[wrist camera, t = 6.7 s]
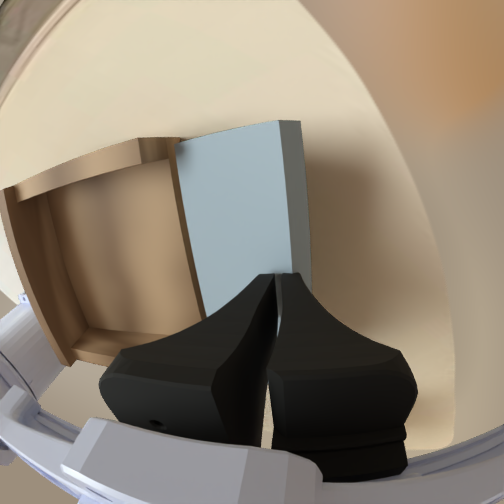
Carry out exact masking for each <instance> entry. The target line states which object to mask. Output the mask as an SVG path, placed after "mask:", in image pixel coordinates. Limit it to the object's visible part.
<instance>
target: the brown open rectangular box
mask: <svg viewBox="0 0 504 504" xmlns="http://www.w3.org/2000/svg"><path fill="white" fill-rule="evenodd" d="M179 142H180V137H150V138H135V139H132V140H128V141H125V142H122V143H119V144H115V145H112V146H109V147H106V148H103V149H100V150H97V151H94V152H91V153H89V154H86V155H83V156H80V157H78V158H75V159H72V160H70V161H67V162H65V163H62V164H60V165H57V166H55V167H53V168H50V169H48V170H46V171H43V172H41V173H39V174H37V175H35V176H32V177H30V178H28V179H26V180H24V181H22V182H20V183H18V184H16V185H14V186H11V187H8V188H5V189H3V190H1V191H0V213H1V218H2V222H3V226H4V230H5V234H6V237H7V241H8V244H9V248H10V251H11V254H12V257H13V260H14V263H15V266H16V269H17V272H18V275H19V277H20V280H21V283H22V285H23V288H24V290H25V293H26V295H27V298H28V300H29V302H30V305H31V307H32V309H33V311H34V313H35V316H36V318H37V320H38V322H39V324H40V326H41V328H42V330H43V332H44V334H45V336H46V338H47V340H48V342H49V343H50V345H51V347H52V349H53V351H54V352H55V354H56V356H57V358H58V359H59V361H60V363H61V364H62V365H65V366H69V367H71V366H72V365H73V363H74V362H75V361H76V360H81V361H85V362H89V363H93V364H98V365H102V366H107V367H109V365H110V364H111V363H112V361H113V360H114V359H115V357H116V356H117V355H118V353H119V352H120V350H121V349H125V348H129V347H133V346H137V345H141V344H145V343H149V342H153V341H156V340H159V339H162V338H164V337H167V336H170V335H172V334H175V333H177V332H180V331H182V330H184V329H186V328H188V327H190V326H192V325H194V324H196V323H198V322H200V321H202V320H203V319H205V318H207V315H206V311H205V307H204V303H203V298H202V294H201V290H200V285H199V281H198V276H197V271H196V267H195V262H194V257H193V252H192V247H191V242H190V237H189V232H188V227H187V221H186V216H185V210H184V205H183V199H182V193H181V187H180V181H179V175H178V168H177V161H176V155H175V148H174V144H176V143H179Z"/></svg>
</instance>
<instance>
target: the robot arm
mask: <svg viewBox="0 0 504 504" xmlns="http://www.w3.org/2000/svg"><path fill="white" fill-rule="evenodd" d="M281 290H282V303H283V309H282V315H281V322H280V326H279V331H278V306H277V295H276V283H275V273H270V274H259V275H257V276H256V277H255V278H254V279H253V280H252V281H251V282H250V283H249V284H248V285H247V286H246V287H245V288H244V289H243V290H242V291H241V292H240V293H239V294H238V295H236V296H235V297H234V298H233V299H232V300H230V301H229V302H228V303H227V304H225V305H224V306H223V307H222V308H220V309H219V310H217V311H216V312H215V313H213V314H211V315H210V316H208V317H207V318H205V319H203V320H202V321H200V322H198V323H196V324H194V325H192V326H190V327H188V328H186V329H184V330H182V331H180V332H177V333H175V334H172V335H170V336H167V337H164V338H162V339H159V340H156V341H153V342H149V343H145V344H141V345H137V346H133V347H129V348H125V349H121V350H120V352H119V353H118V355H117V356H116V357H115V359H114V360H113V361H112V363H111V364H110V365H109V367H108V368H107V370H106V371H105V373H104V374H103V375H102V377H101V378H100V381H99V389H100V393H101V395H102V397H103V399H104V401H105V403H106V404H107V406H108V407H109V408H110V410H111V411H112V413H114V415H115V417H116V418H117V419H118V421H119V422H118V421H115V420H109V419H104V418H97V417H94V418H89V420H88V421H87V423H86V424H85V426H84V427H83V429H82V428H79V427H77V426H75V425H73V424H71V423H69V422H66V421H64V420H62V419H60V418H58V417H56V416H54V415H53V414H51V413H49V412H47V411H45V410H43V409H41V405H40V404H39V403H38V402H37V401H38V400H39V399H40V397H41V396H42V395H43V393H44V392H45V391H46V390H47V388H48V387H49V386H50V385H51V383H52V382H53V381H54V380H55V378H56V377H57V376H58V375H59V374H60V372H61V371H62V370H63V369H64V367H65V365H62V364H61V363H60V361H59V359H58V358H57V356H56V354H55V352H54V351H53V349H52V347H51V345H50V343H49V342H48V340H47V338H46V336H45V334H44V332H43V330H42V328H41V326H40V324H39V322H38V320H37V318H36V316H35V313H34V311H33V309H32V307H31V305H30V302H29V300H28V298H27V295H26V294H19V295H18V298H19V300H20V304H19V305H18V306H16V307H15V308H14V309H13V310H11V311H10V312H9V313H8V314H7V315H5V316H4V317H3V318H2V319H1V320H0V465H4V466H8V465H9V464H10V463H12V462H13V461H14V459H15V458H16V457H17V456H19V457H20V458H21V459H22V460H23V461H24V462H26V463H27V464H28V465H29V466H31V467H32V468H33V469H35V470H36V471H37V472H39V473H40V474H41V475H42V476H44V477H45V478H47V479H48V480H50V481H51V482H52V483H54V484H55V485H57V486H58V487H60V488H61V489H63V490H64V491H66V492H67V493H69V494H71V495H72V496H74V497H75V498H77V499H79V501H78V503H77V504H496V503H497V502H499V501H501V500H502V499H504V424H503V425H501V426H499V427H497V428H495V429H493V430H491V431H488V432H486V433H484V434H481V435H479V436H477V437H474V438H472V439H469V440H467V441H464V442H461V443H459V444H456V445H453V446H450V447H447V448H444V449H441V450H438V451H435V452H432V453H428V454H425V455H421V456H417V457H413V458H409V459H407V456H406V451H405V446H404V440H405V439H406V435H407V434H406V430H405V426H404V423H405V422H406V420H407V418H408V416H409V414H410V412H411V410H412V408H413V406H414V404H415V401H416V398H417V394H418V390H417V384H416V381H415V378H414V376H413V373H412V371H411V369H410V367H409V365H408V363H407V362H406V360H405V358H404V357H403V355H402V353H401V351H400V350H397V349H394V348H391V347H389V346H386V345H383V344H380V343H377V342H375V341H373V340H371V339H369V338H366V337H364V336H362V335H360V334H359V333H357V332H355V331H353V330H352V329H350V328H348V327H347V326H345V325H344V324H342V323H341V322H339V321H338V320H337V319H335V318H334V317H333V316H332V315H331V314H330V313H329V312H328V311H327V310H326V309H325V308H324V307H323V306H322V305H321V304H320V303H319V302H318V301H317V299H316V298H315V297H314V296H313V294H312V293H311V292H310V290H309V289H308V287H307V286H306V284H305V283H304V281H303V279H302V276H301V274H300V273H299V272H296V273H282V275H281ZM277 332H278V336H277ZM267 384H268V385H269V392H270V400H271V408H272V416H273V424H274V430H273V438H272V447H271V449H266V448H261V439H262V429H263V419H264V409H265V400H266V390H267Z"/></svg>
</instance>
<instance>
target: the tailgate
mask: <svg viewBox="0 0 504 504" xmlns="http://www.w3.org/2000/svg"><path fill="white" fill-rule="evenodd" d="M174 148H175V155H176V161H177V168H178V175H179V181H180V187H181V193H182V199H183V205H184V210H185V216H186V221H187V227H188V232H189V237H190V242H191V247H192V252H193V257H194V262H195V267H196V271H197V276H198V281H199V285H200V290H201V294H202V298H203V303H204V307H205V311H206V315H207V317H208V316H210V315H211V314H213V313H215V312H216V311H217V310H219V309H220V308H222V307H223V306H224V305H225V304H227V303H228V302H229V301H230V300H232V299H233V298H234V297H235V296H236V295H238V294H239V293H240V292H241V291H242V290H243V289H244V288H245V287H246V286H247V285H248V284H249V283H250V282H251V281H252V280H253V279H254V278H255V277H256V276H257V275H259V274H270V273H275V283H276V295H277V306H278V331H279V326H280V322H281V315H282V309H283V303H282V290H281V275H282V273H296V272H299V273H300V274H301V276H302V279H303V281H304V283H305V284H306V286H307V287H308V289H309V290H310V292H311V293H312V277H311V248H310V228H309V211H308V196H307V183H306V171H305V160H304V149H303V140H302V130H301V122H300V121H290V120H277V121H271V122H265V123H260V124H254V125H249V126H244V127H239V128H235V129H230V130H226V131H222V132H217V133H213V134H209V135H205V136H201V137H197V138H194V139H190V140H186V141H183V142H179V143H176V144H174ZM277 336H278V332H277Z"/></svg>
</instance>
